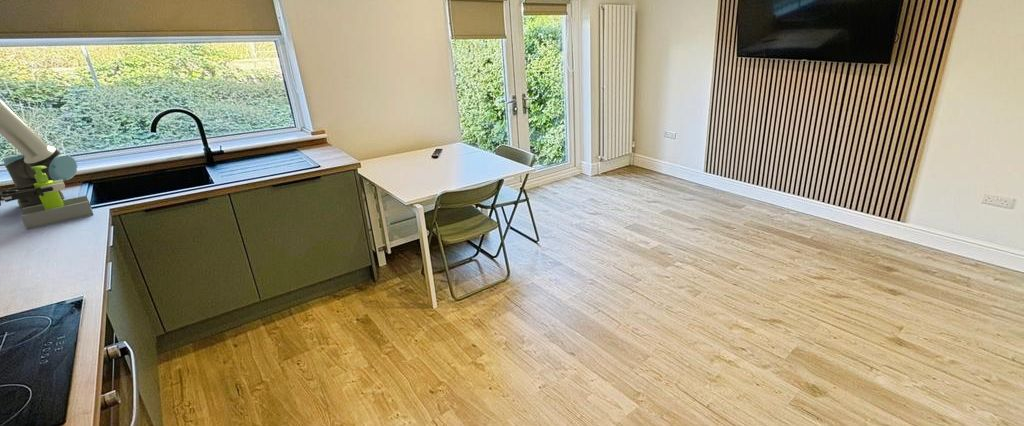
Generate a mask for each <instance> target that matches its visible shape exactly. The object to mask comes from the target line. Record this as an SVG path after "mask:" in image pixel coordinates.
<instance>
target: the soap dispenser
mask: <svg viewBox="0 0 1024 426" xmlns="http://www.w3.org/2000/svg"><path fill="white" fill-rule="evenodd" d="M31 168H32V169H35V172H36V174H35V175H34V176H35V178H36V181H37V183H35V184H34V187H35V188H41V187H42V186H47V185H53V184H55V183H54V181H53V180H48V177H47V175H46V173H42V171H41V169H45V168H47V167H45V166H34V167H31ZM43 194H44V196H41V195H40V196H39V197H40V200H41V202H42V204H43V206H44V208H45V210H48V209H53V208H58V207H62V206H64V203H63V201H62V200H63V199H61V197H60V194H59V192H58V191H54V192H49V193H43Z"/></svg>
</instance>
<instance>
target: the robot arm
mask: <svg viewBox="0 0 1024 426" xmlns="http://www.w3.org/2000/svg"><path fill="white" fill-rule="evenodd" d="M0 135H1V136H2V137H3V138H4V139H5V140H7V142H8V143H10V145H11V146H12V147H14V148H15V149H16V150H17V151H18V152H19V153H18V154H17V153H16V154H14V155H9V156H6V157H4V159H3V162H4V166H5V168H6V170H7V172H8V174H9V176H10V178H11V180H12V182H13V184H14V187H8V188H4V189H2V190H1V191H0V207H1V205H2V203H1V201H2V202H3V201H4V202H5V203H8V202H12V201H16V200H17V205H18V206H19V208H21V209H22V208H27V207H32V206H37V205H41V204H42V202H41V200H40V197H39V196H40V195H41V196H44V194H43V193H49V192H54V191H58V192H59V194H60V197H61V199H62V200H65V195H64V193H63V192H62V191H63V190H66V187H65V186H66V185H65V183H64V182H65V181H68V180H71V179H72V178H74V177H75V176H76V174H77V171H78V169H77V168H78V163H77V161H76V159H75V158H74V157H72V156H71V155H69V154H64V153H63V154H62V153H61V152H60V151H59V150H58V149H57V148H56V147H54V146H52V145H47V144H46V142H45V141H44V140H42V139H41V138H40V137H39V136H38V135H37V134H36V133H35V132H34V131H33V130H32V129H31V128H30V127H29V126H28V125H27V124H26V123H25V122H24V121H23V120H22V119H21V118H20V117H19V116H18V115H17V114H16V113H15V112H14V111H12V109H11V108H10V107H8V106H7V104H5V102H3V100H1V99H0ZM34 166H45V167H47V168H45V169H41V171H42V173H46V175H47V177H48V180H53V181H54V183H55V184H53V185H47V186H42V187H41V188H35V187H34V184H35V183H37V181H36V178H35V176H34V175H35V174H36V172H35V169H32V168H31V167H34Z"/></svg>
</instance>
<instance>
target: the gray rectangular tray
mask: <svg viewBox="0 0 1024 426" xmlns="http://www.w3.org/2000/svg"><path fill="white" fill-rule="evenodd" d="M62 201H63V203H64V206H62V207H58V208H53V209H48V210H45V208H44V206H43V204H41V205H37V206H32V207H27V208H21V210H22V213H23V214H21V215H20V218H21V220H22V221H23V222H22V223H23V224H24V225H25V228H26V230H27V231H29V230H34V229H38V228H43V227H46V226H51V225H54V224H55V225H56V224H59V223H64V222H68V221H73V220H78V219H81V218H86V216H87V217H90V216H89V215H91V216H94V212H93V207H92V205H91V203H90V201H89V199H88V196H87V195H81V196H76V197H72V198H66V199H62ZM91 207H92V208H91Z"/></svg>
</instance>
